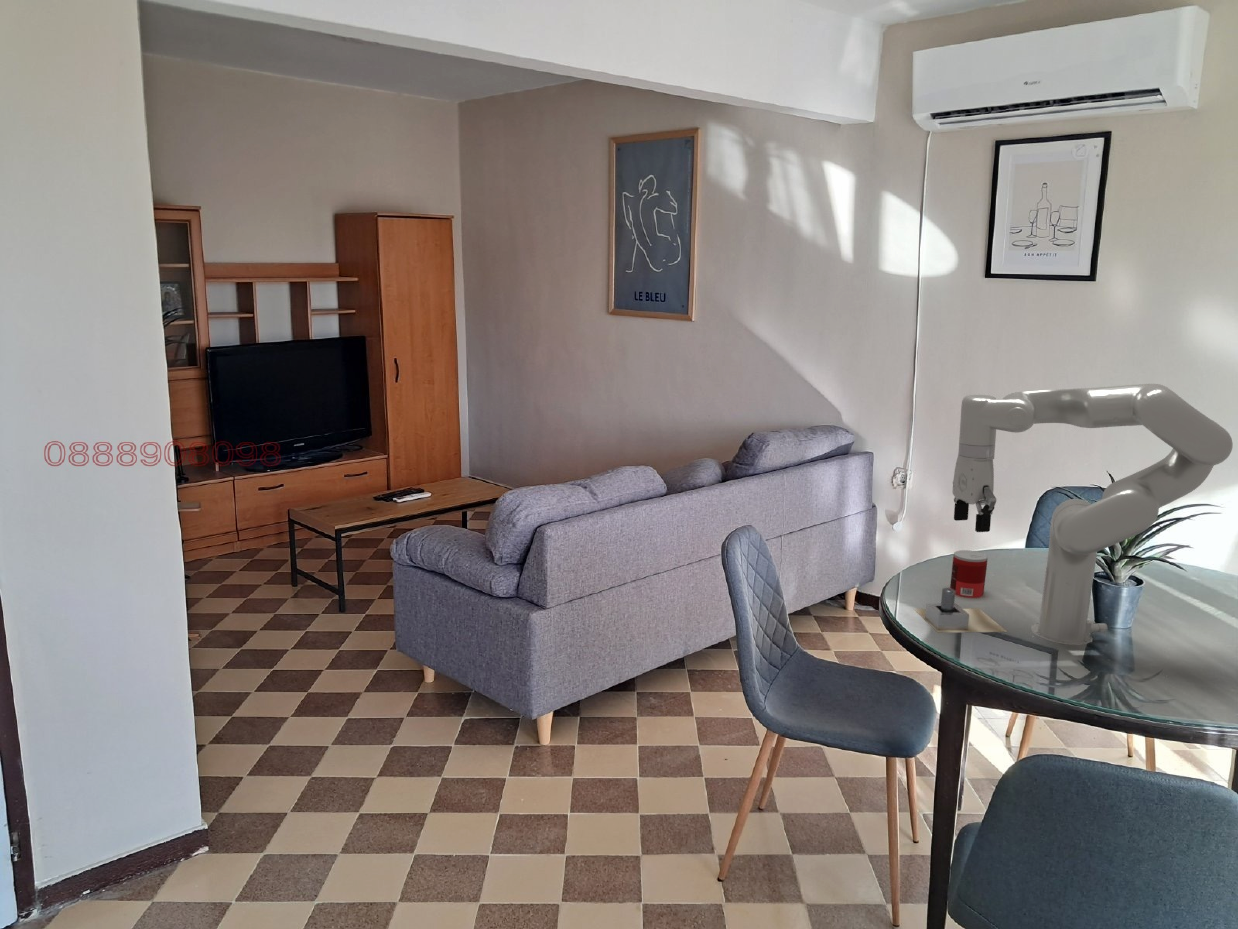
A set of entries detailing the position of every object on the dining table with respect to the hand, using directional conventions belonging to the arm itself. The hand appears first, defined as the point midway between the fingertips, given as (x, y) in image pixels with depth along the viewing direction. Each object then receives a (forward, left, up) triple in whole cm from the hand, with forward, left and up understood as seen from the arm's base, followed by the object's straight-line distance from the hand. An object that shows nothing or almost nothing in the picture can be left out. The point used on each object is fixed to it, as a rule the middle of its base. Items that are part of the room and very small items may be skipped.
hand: (971, 525), depth 215 cm
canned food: (-9, -17, -24) cm, 30 cm away
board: (+1, +1, -23) cm, 23 cm away
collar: (+5, +3, -22) cm, 23 cm away
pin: (+5, +3, -22) cm, 23 cm away
